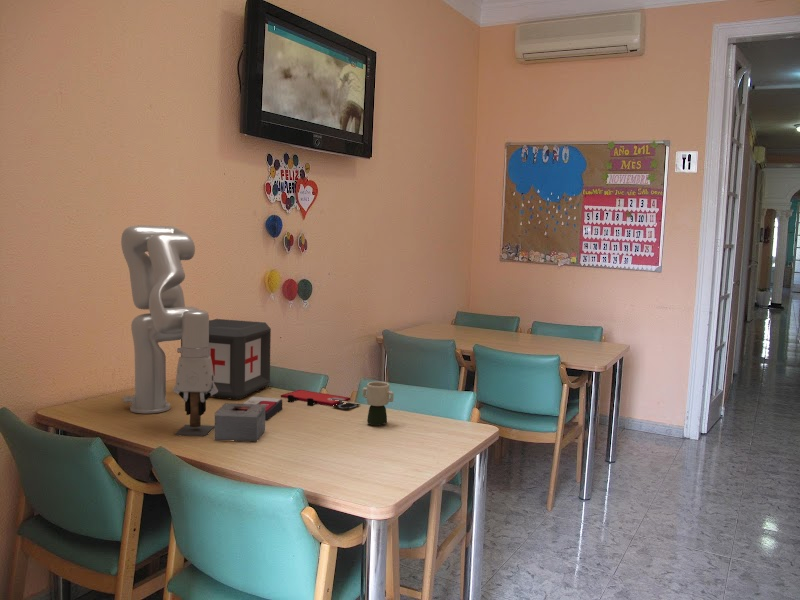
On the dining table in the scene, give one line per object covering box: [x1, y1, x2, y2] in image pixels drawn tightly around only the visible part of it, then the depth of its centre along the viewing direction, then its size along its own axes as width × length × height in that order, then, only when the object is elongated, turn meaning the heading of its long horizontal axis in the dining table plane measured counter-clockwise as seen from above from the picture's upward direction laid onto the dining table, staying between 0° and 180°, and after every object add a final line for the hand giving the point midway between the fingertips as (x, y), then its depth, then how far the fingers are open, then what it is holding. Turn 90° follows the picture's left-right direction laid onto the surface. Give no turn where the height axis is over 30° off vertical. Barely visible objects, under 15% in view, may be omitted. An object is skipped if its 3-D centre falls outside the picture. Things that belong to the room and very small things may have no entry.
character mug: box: [362, 381, 394, 426], centre depth 214 cm, size 11×7×13 cm, turn 63°
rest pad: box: [174, 424, 215, 437], centre depth 201 cm, size 9×9×1 cm
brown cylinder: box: [189, 392, 202, 427], centre depth 200 cm, size 3×3×12 cm
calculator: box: [242, 396, 283, 422], centre depth 223 cm, size 11×4×15 cm
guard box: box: [214, 402, 266, 443], centre depth 198 cm, size 12×11×8 cm
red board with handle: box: [280, 389, 361, 410], centre depth 241 cm, size 30×3×15 cm
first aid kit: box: [180, 318, 272, 400], centre depth 251 cm, size 25×25×25 cm
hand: (195, 413), depth 200 cm, fingers closed on brown cylinder, 3 cm apart
